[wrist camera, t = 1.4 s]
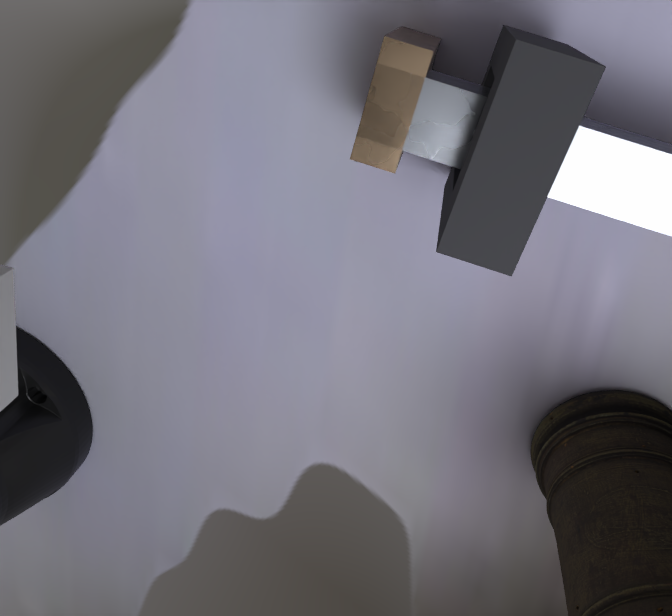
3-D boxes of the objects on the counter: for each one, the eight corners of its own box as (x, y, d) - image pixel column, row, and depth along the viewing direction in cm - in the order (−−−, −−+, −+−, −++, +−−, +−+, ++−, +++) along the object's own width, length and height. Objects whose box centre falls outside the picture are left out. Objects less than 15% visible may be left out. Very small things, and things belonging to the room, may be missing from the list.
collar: (444, 186, 32) (436, 252, 24) (503, 24, 28) (516, 39, 21) (501, 205, 32) (511, 276, 24) (567, 44, 28) (605, 67, 20)
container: (502, 432, 40) (524, 722, 24) (635, 360, 36) (762, 649, 20) (584, 523, 42) (653, 845, 26) (718, 464, 38) (892, 801, 22)
